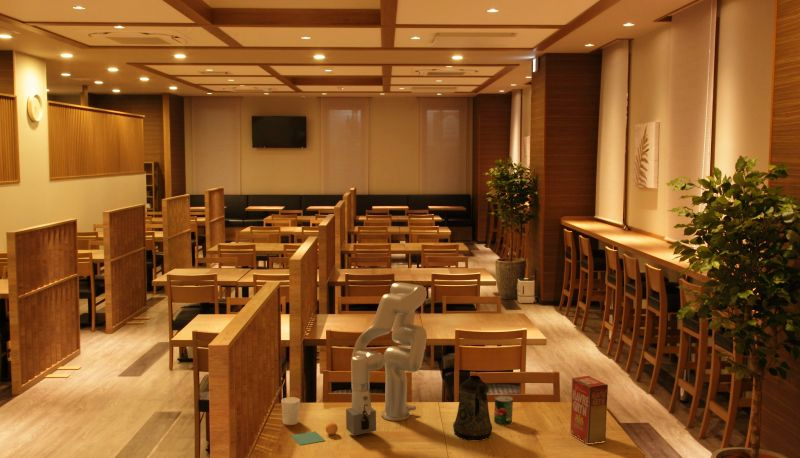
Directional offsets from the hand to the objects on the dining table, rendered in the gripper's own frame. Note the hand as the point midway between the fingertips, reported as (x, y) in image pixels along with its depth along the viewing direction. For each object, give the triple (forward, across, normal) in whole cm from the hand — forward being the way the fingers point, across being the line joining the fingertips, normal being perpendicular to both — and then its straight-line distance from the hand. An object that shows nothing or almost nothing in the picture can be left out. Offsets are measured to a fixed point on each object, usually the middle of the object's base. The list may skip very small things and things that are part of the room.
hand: (361, 425), depth 329 cm
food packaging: (+7, -43, -85) cm, 95 cm away
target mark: (+3, +5, +22) cm, 23 cm away
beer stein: (+6, -20, -44) cm, 48 cm away
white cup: (+4, +25, +22) cm, 34 cm away
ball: (+1, +5, +11) cm, 12 cm away
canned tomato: (+7, -13, -63) cm, 64 cm away
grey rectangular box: (+2, 0, 0) cm, 2 cm away
